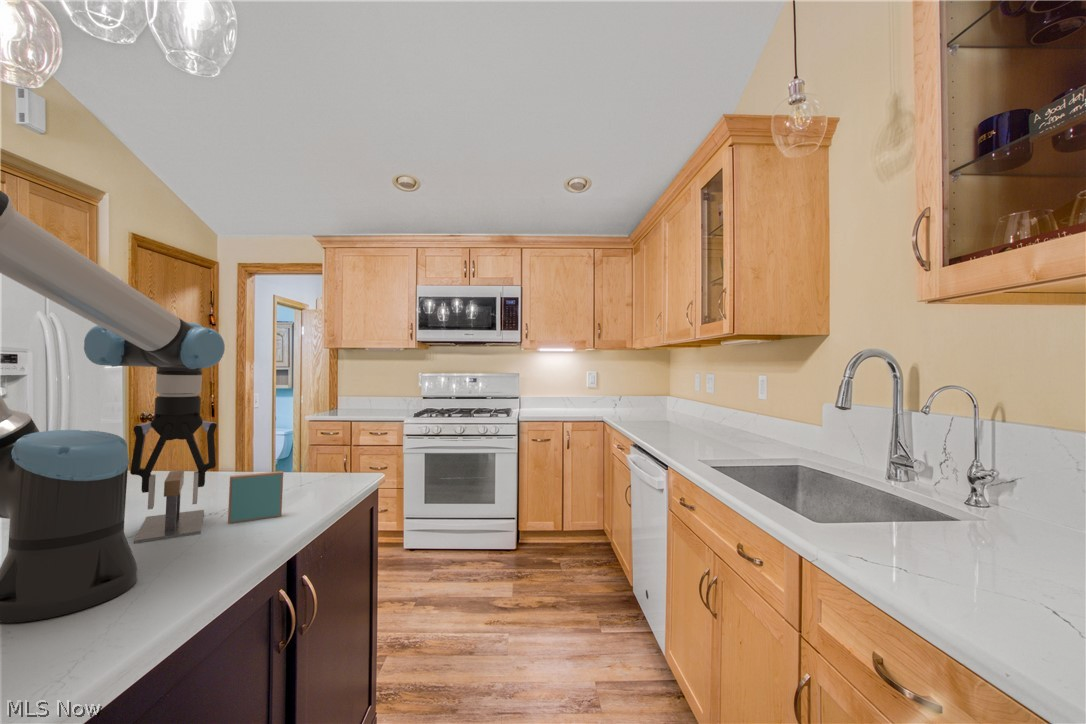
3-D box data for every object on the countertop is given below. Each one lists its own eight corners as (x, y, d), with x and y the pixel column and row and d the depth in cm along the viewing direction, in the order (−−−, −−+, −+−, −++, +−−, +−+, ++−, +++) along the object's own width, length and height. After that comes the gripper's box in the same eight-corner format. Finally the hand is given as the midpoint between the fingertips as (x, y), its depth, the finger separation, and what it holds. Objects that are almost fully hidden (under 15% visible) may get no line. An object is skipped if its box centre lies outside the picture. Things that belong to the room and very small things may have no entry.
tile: (281, 516, 102) (283, 472, 102) (227, 524, 96) (230, 477, 96) (280, 514, 103) (282, 471, 104) (227, 522, 98) (229, 475, 98)
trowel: (200, 534, 90) (202, 481, 90) (133, 544, 84) (136, 487, 85) (203, 513, 103) (206, 466, 104) (146, 520, 98) (148, 470, 98)
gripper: (234, 394, 103) (229, 494, 103) (119, 394, 92) (113, 507, 91) (234, 395, 97) (230, 502, 97) (112, 396, 86) (105, 517, 85)
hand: (173, 504), depth 94 cm, fingers open, 6 cm apart
